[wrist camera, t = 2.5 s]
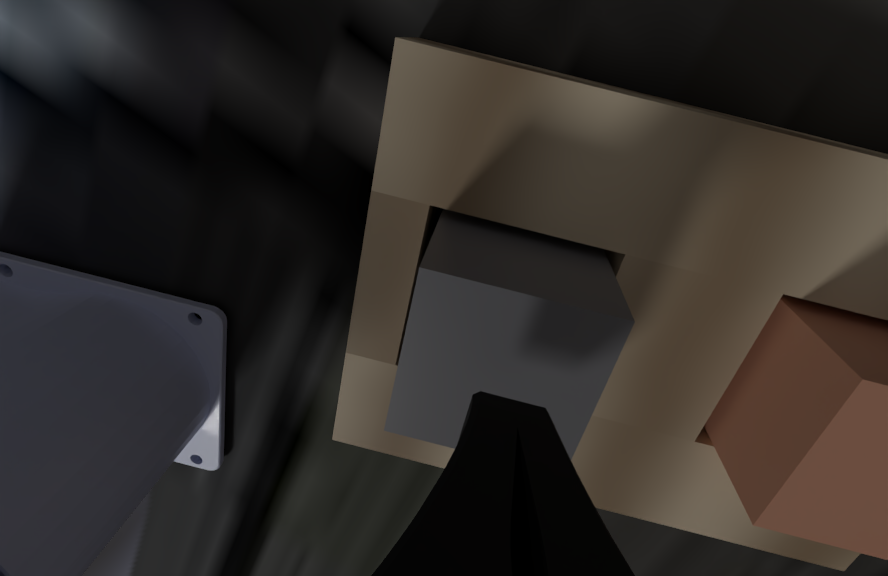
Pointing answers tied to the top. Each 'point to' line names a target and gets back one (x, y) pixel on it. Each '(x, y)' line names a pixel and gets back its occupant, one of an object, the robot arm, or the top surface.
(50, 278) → the robot arm
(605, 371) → the gray cube
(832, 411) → the brown cube
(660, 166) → the tan flat rectangular block
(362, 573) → the top surface
